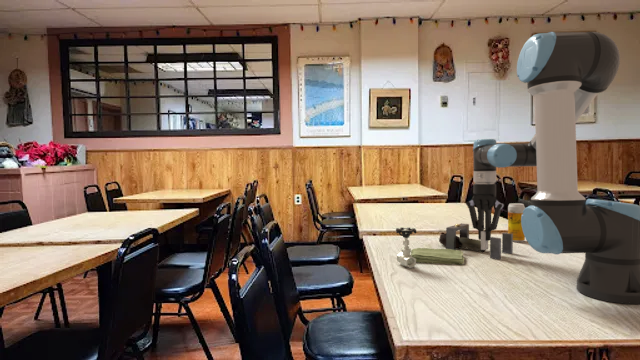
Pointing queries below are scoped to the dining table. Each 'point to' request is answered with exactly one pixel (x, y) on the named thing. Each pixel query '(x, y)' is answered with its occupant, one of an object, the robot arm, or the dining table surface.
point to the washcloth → (438, 256)
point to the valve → (406, 248)
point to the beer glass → (515, 221)
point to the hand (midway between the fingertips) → (484, 249)
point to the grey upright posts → (494, 242)
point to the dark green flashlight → (464, 243)
